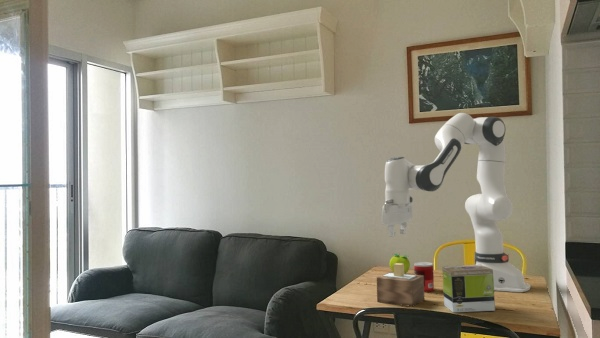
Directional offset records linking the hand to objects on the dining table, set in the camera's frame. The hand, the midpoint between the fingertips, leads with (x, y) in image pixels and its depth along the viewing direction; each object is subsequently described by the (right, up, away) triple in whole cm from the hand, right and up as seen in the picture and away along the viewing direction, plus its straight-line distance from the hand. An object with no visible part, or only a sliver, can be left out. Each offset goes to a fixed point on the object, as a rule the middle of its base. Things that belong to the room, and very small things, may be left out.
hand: (397, 235), depth 188 cm
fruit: (+11, -26, +48) cm, 56 cm away
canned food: (+14, -25, +16) cm, 33 cm away
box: (+1, -25, -1) cm, 25 cm away
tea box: (+22, -25, -14) cm, 36 cm away
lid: (0, -18, 0) cm, 18 cm away
